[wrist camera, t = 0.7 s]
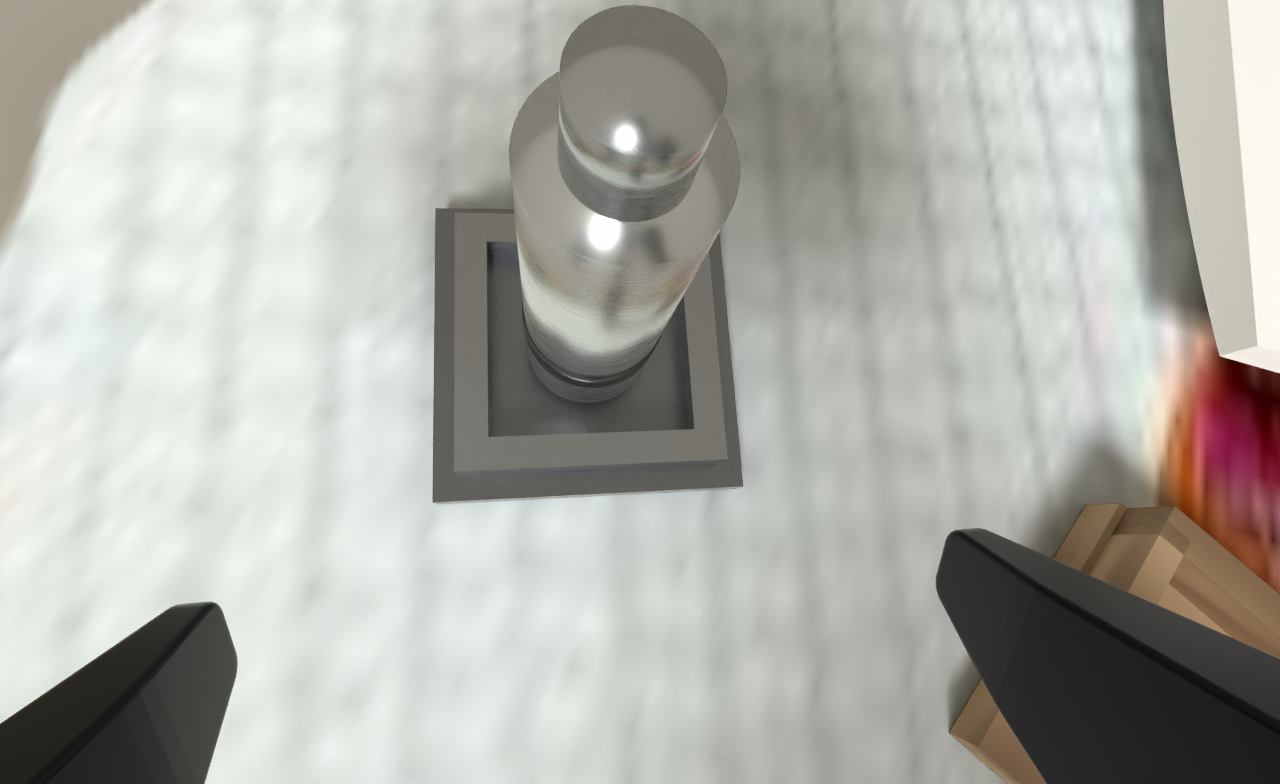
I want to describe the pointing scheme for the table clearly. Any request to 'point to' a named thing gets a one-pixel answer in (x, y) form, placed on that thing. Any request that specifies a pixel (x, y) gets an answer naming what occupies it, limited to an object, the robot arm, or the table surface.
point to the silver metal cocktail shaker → (617, 194)
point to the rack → (1151, 569)
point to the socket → (551, 425)
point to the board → (1231, 163)
